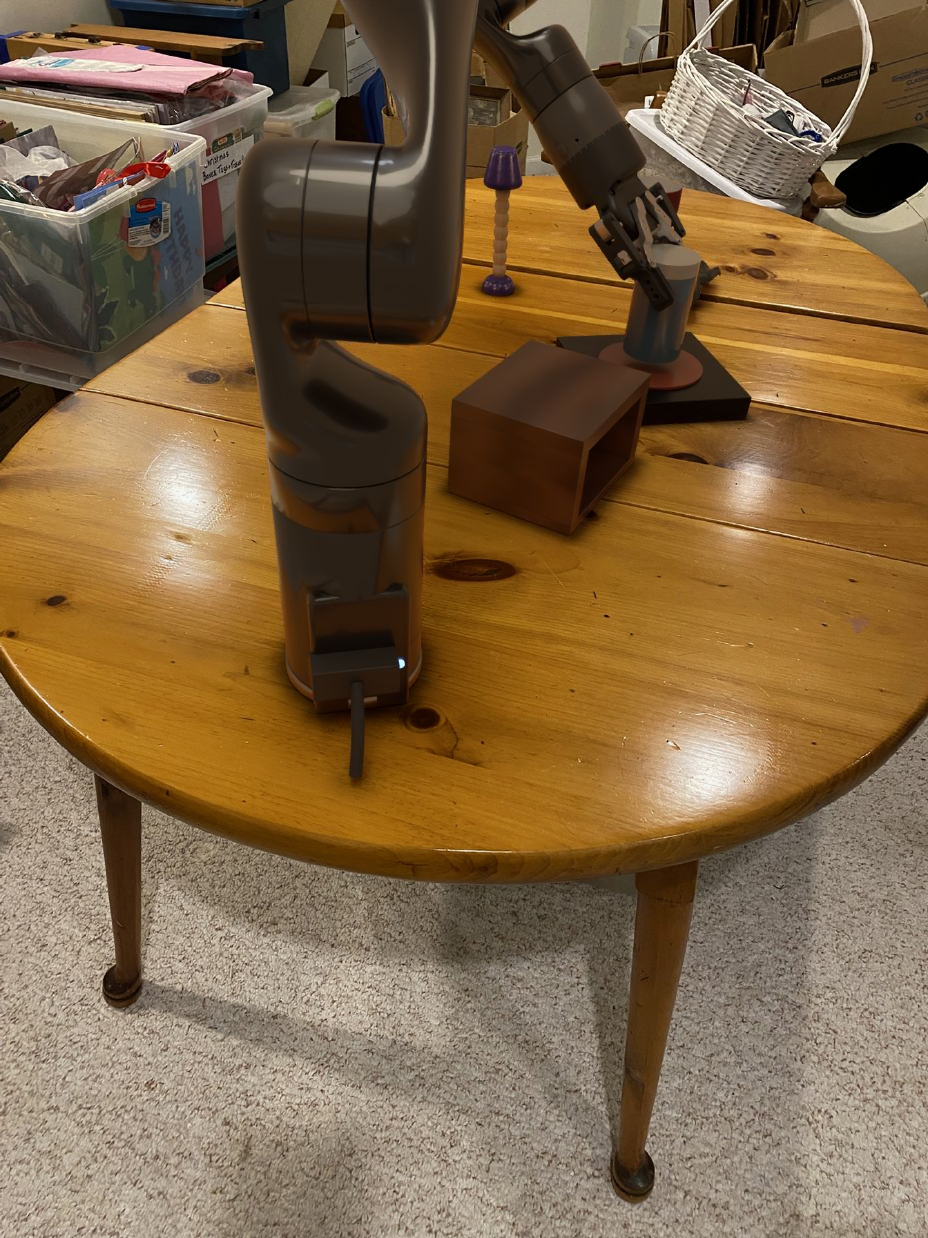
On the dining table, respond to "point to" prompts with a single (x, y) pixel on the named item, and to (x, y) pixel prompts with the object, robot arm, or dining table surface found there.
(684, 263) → the jar
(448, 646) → the dining table surface
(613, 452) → the shelf
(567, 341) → the hot plate
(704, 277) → the statue
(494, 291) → the toy lamp
